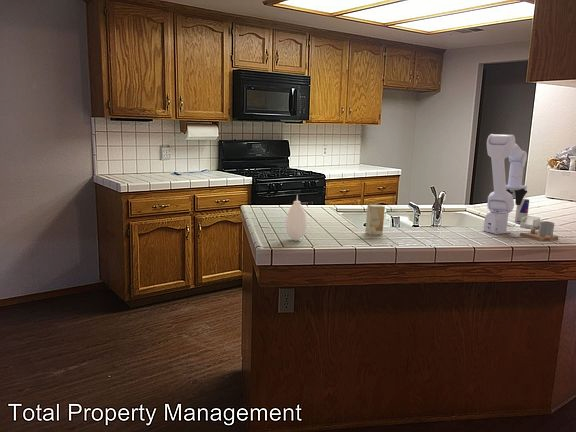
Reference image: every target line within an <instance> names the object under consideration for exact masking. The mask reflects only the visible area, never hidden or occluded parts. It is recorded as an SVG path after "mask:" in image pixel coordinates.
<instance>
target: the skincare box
mask: <svg viewBox="0 0 576 432" xmlns="http://www.w3.org/2000/svg"><path fill="white" fill-rule="evenodd" d="M385 207H386V206H385V205H381V204H367V208H366V209H367V210H366V219H365V234H367V235H369V236H373V235H374V236H376V235H378V236H379V235H381V236H382V235H383V233H384V218H385Z"/></svg>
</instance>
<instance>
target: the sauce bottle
mask: <svg viewBox="0 0 576 432" xmlns="http://www.w3.org/2000/svg"><path fill="white" fill-rule="evenodd" d="M285 219H286V220H285V231H286V234H287V236H288V237H289V238H290V239H291V240H292V241H295V242H296V241H299V240H301V238H304V236H305V234H306V230H307V226H308V225H307V224H308V223H307V221H308V220H307V215H306V212H305V209H304V207H303V205H302V204H301V201H300V200H299V194H296V199H295V200H294V201H293V204H291V206H290V208H289V210H288V213H287V216H286V218H285Z"/></svg>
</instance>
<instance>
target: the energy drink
mask: <svg viewBox="0 0 576 432" xmlns="http://www.w3.org/2000/svg"><path fill="white" fill-rule="evenodd" d="M515 208H516V209H515V218H514V222H516V224H519V223H520V224H521V218H523V217H526V216H529V208H530V199H529V198H525V197H524V198H523V200H522V202H521V204H520V205H516V207H515Z"/></svg>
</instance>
